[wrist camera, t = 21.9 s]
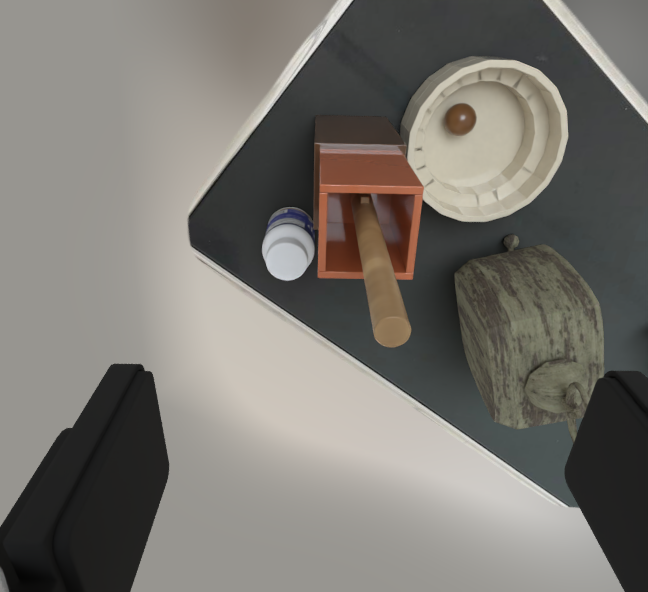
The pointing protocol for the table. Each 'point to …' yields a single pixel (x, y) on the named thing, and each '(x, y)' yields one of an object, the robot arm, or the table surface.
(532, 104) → the bowl
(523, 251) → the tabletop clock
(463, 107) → the brown ball
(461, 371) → the table surface
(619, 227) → the table surface
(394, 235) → the brown boxy piece
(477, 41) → the table surface
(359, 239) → the stirring stick
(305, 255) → the pill bottle
